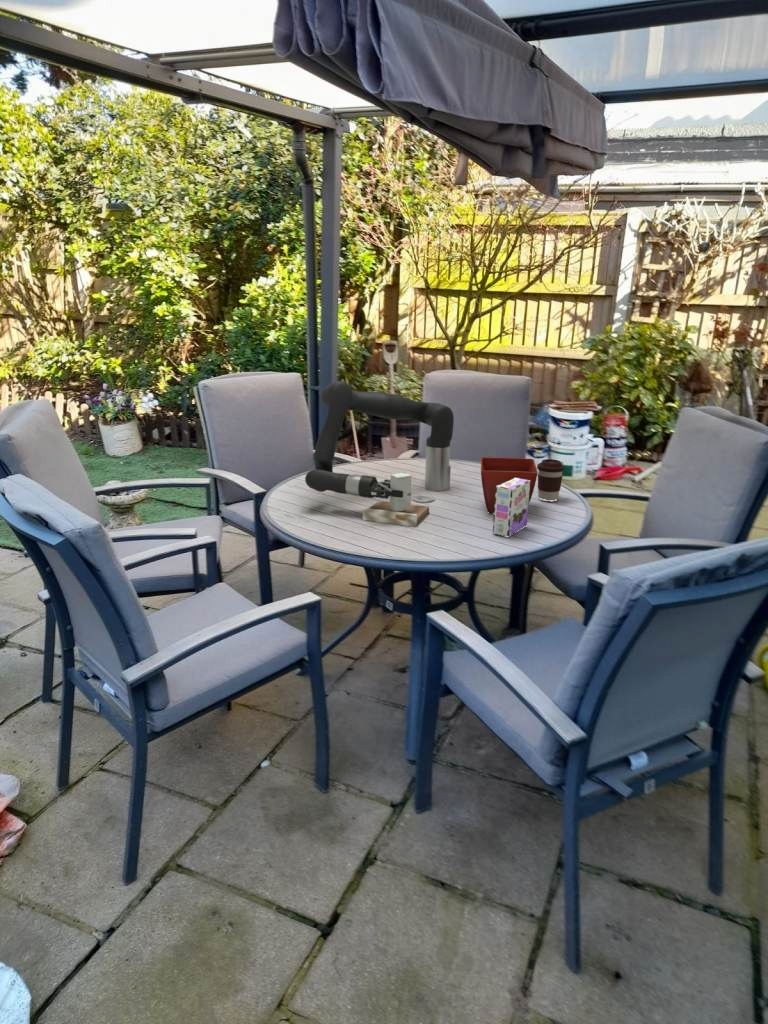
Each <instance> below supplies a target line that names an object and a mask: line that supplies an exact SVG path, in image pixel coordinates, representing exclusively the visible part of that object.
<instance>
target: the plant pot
mask: <svg viewBox="0 0 768 1024" xmlns="http://www.w3.org/2000/svg"><path fill="white" fill-rule="evenodd" d="M536 465H537V464H536V461H535V459H534V458H524V457H523V458H521V457H520V458H517V457H490V456H489V457H488V456H482V457H480V476H481V485H482V487H481V488H482V492H483V498H484V503H485V506H486V510H487V513H488V512H489V513H488V514H490V513H494V508H495V493H496V486H498V485H500V484H503V483H505V482H507V481H510V480H512V479H514V478H520V479H525V480H530V492H529V504H530V503H531V500H532V496H533V493H534V490H535V487H536V482H537V479H538V473H539V470H538V469H537V466H536Z"/></svg>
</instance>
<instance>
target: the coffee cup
mask: <svg viewBox="0 0 768 1024" xmlns="http://www.w3.org/2000/svg"><path fill="white" fill-rule="evenodd" d="M536 465H537V466H536V468H537V471H538V473H537V494H538V495H537V496H538V497H539V498H542V499H546V500H555V499H558V500H559V494H560V490H561V487H562V482H563V472H564V471H565V465H564V464H562V462H561V461H560V460H558V459H554V458H553V459H551V458H547V459H546V458H545V459H542V460H541V462H539V463H537V464H536Z"/></svg>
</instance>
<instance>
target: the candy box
mask: <svg viewBox="0 0 768 1024" xmlns="http://www.w3.org/2000/svg"><path fill="white" fill-rule="evenodd" d="M529 492H530V480H525V479H520V478H514V479H512V480H510V481H507V482H505V483H503V484H500V485H498V486H496V493H495V508H494V514H493V523H492V525H493V526H492V535H495V534H498V535H497V536H499V535H503V536H510V535H512V534H514V533H515V532H517V531H518V530H520V529H521V528H523V527H524V526H526V525H527V526H528V517H529V504H530V503H529ZM517 533H518V532H517ZM514 535H515V534H514ZM512 536H513V535H512Z"/></svg>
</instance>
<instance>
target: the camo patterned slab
mask: <svg viewBox="0 0 768 1024" xmlns="http://www.w3.org/2000/svg"><path fill="white" fill-rule="evenodd" d="M429 514H430V506H426V505H419V504H411V506H410V509H409V510H403V511H397V512H396V511H394V510H392V509H390V501H385V500H384V501H383V500H377V501H376V502H375V503H374V504H372V505H371V506H370V507H363V508H362V520H363V521H367V520H369V521H368V522H375V523H381V524H383V523H384V524H391V525H399V526H405V527H413V526H414V527H417V526H418V525H419V524H420V523H422V522H423V520H424V519H425V518H426V517H427V516H428V515H429Z"/></svg>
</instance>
